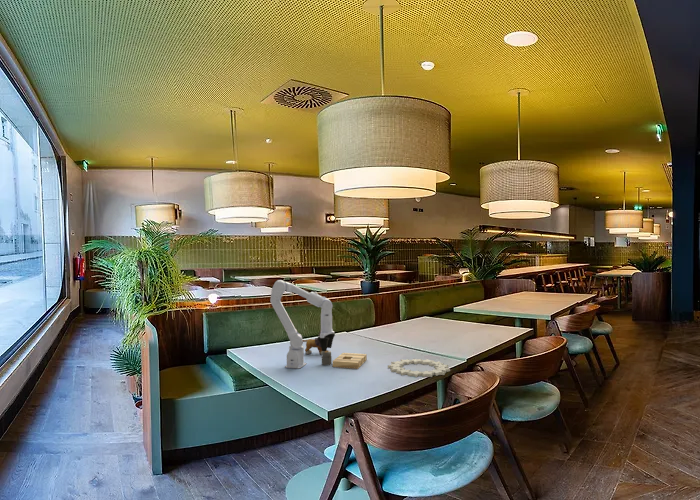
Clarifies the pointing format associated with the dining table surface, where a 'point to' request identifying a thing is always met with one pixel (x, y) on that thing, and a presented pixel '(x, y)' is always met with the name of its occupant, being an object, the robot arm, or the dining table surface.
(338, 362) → the hub plate
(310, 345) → the figurine
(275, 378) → the dining table surface
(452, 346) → the dining table surface
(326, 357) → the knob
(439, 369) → the decorative wreath
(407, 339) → the dining table surface
